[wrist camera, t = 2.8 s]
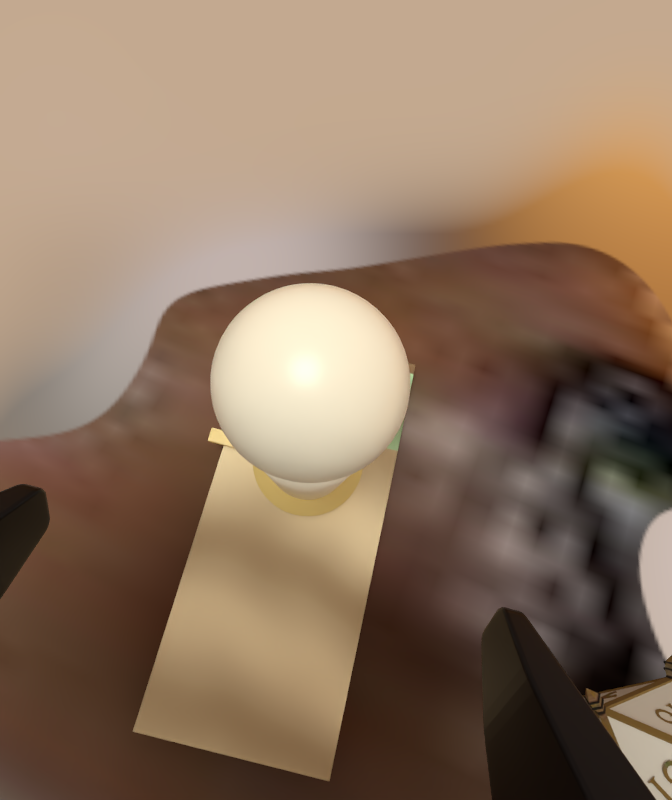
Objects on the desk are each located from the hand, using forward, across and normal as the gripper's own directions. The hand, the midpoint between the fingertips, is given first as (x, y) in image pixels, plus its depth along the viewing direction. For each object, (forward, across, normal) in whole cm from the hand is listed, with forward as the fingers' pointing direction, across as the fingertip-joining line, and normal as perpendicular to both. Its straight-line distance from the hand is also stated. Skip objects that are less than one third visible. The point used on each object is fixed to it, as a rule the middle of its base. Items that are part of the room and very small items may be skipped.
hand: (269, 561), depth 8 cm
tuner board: (+9, 0, +8) cm, 12 cm away
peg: (+10, +1, +6) cm, 12 cm away
